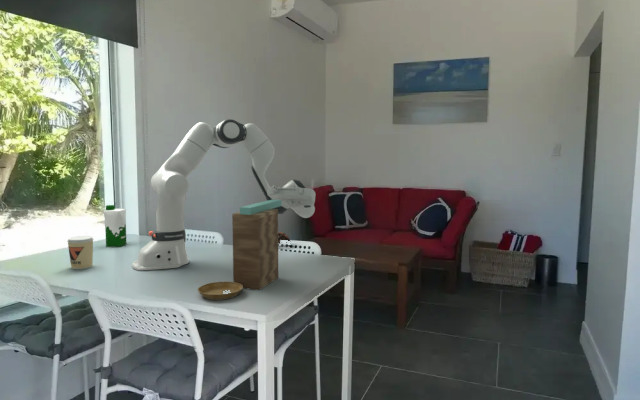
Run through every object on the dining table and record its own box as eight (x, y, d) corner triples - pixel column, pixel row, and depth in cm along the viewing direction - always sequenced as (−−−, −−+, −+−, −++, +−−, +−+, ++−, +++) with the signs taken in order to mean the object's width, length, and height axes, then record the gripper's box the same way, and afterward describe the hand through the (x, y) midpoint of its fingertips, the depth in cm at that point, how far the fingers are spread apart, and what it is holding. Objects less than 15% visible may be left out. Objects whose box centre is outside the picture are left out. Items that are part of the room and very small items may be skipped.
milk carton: (111, 243, 237) (109, 204, 235) (129, 243, 237) (127, 204, 235) (103, 247, 228) (101, 206, 226) (121, 247, 228) (119, 206, 226)
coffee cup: (63, 268, 188) (61, 239, 187) (82, 263, 197) (81, 235, 196) (81, 270, 185) (79, 240, 184) (99, 265, 194) (98, 236, 192)
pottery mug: (291, 250, 227) (283, 236, 224) (275, 257, 229) (266, 244, 226) (294, 239, 238) (286, 225, 235) (278, 246, 240) (270, 233, 237)
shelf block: (254, 275, 179) (253, 208, 176) (278, 277, 176) (277, 209, 173) (233, 286, 164) (232, 213, 161) (259, 289, 161) (258, 215, 158)
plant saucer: (188, 298, 152) (188, 290, 152) (215, 286, 166) (215, 279, 165) (226, 305, 146) (225, 296, 146) (251, 291, 160) (251, 284, 160)
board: (272, 205, 185) (272, 199, 185) (281, 205, 184) (281, 199, 183) (239, 214, 160) (239, 207, 160) (250, 214, 159) (250, 207, 159)
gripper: (275, 191, 208) (263, 179, 196) (319, 193, 201) (308, 180, 189) (273, 205, 206) (260, 193, 194) (316, 206, 199) (306, 194, 187)
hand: (284, 187), depth 191 cm, fingers open, 8 cm apart
